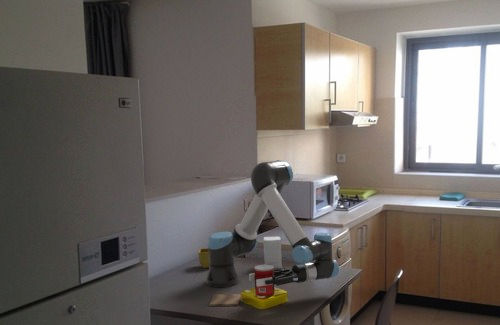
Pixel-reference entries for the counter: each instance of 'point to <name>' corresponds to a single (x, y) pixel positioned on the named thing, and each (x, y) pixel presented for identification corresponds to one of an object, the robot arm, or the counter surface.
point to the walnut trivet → (225, 300)
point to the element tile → (263, 298)
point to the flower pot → (204, 257)
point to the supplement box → (272, 251)
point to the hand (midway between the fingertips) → (253, 280)
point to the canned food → (261, 273)
